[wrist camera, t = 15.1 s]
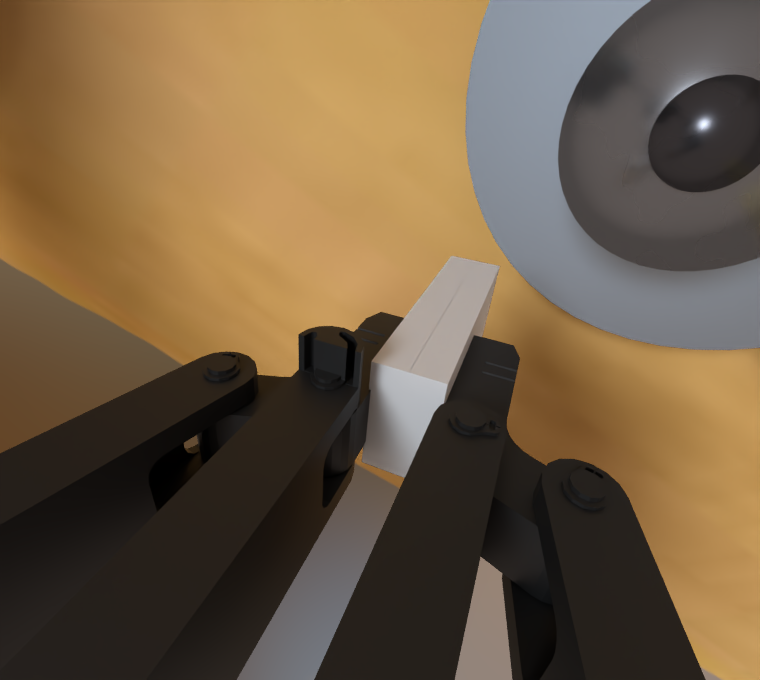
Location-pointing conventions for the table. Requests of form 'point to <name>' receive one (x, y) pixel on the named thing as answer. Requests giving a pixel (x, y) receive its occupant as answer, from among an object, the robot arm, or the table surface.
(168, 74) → the table surface
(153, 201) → the table surface
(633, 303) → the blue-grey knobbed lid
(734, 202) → the cover
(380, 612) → the robot arm
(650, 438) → the table surface
